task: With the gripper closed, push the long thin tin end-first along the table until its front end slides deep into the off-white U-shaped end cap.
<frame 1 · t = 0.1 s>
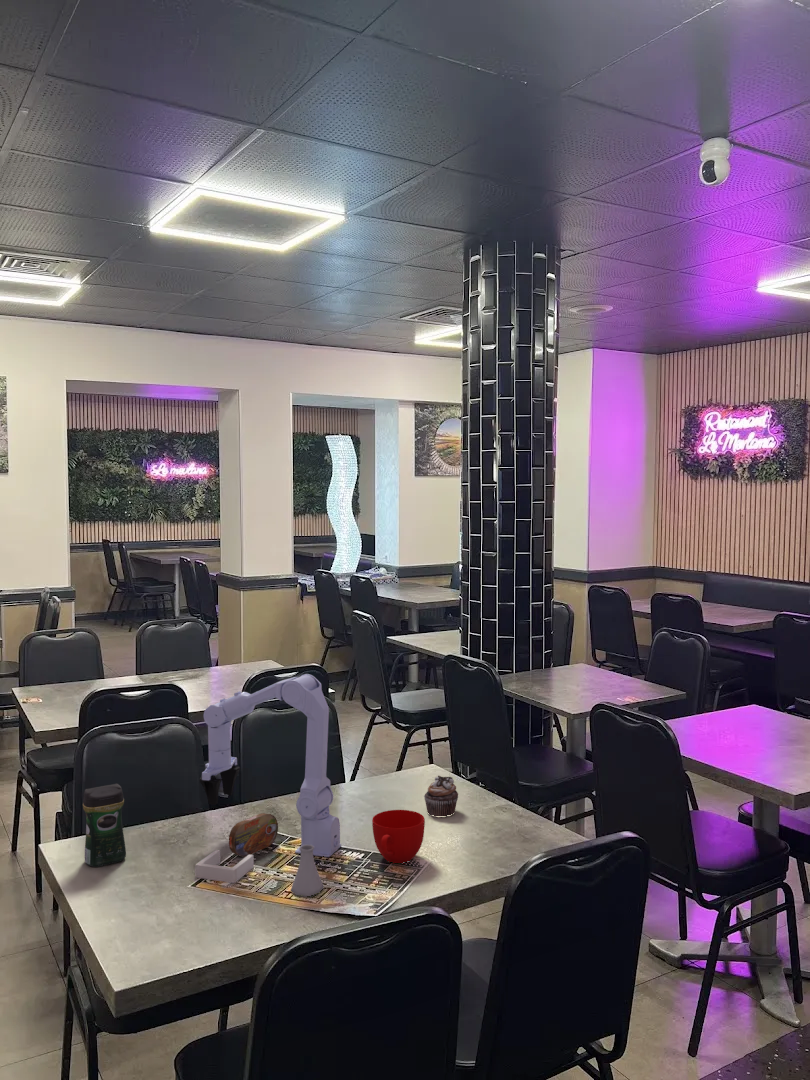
hand: (220, 799, 227), 10 cm above the table, tool pointing down, fingers open, 7 cm apart
cupcake: (441, 813, 244), on the table
coffee jar: (105, 861, 213), on the table
flask: (307, 891, 195), on the table
endcap: (226, 871, 206), on the table
ceramic cup: (396, 862, 211), on the table
tin: (253, 851, 219), on the table
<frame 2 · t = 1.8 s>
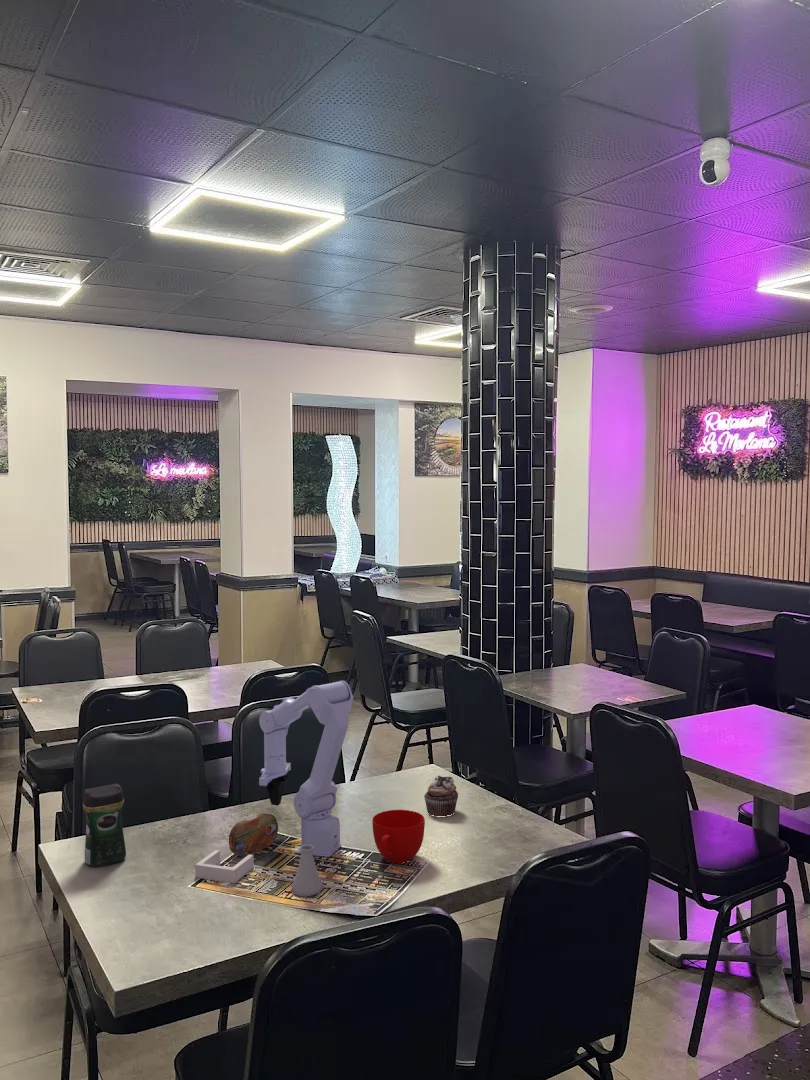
hand: (275, 804, 230), 8 cm above the table, tool pointing down, fingers closed
nothing on the table moved.
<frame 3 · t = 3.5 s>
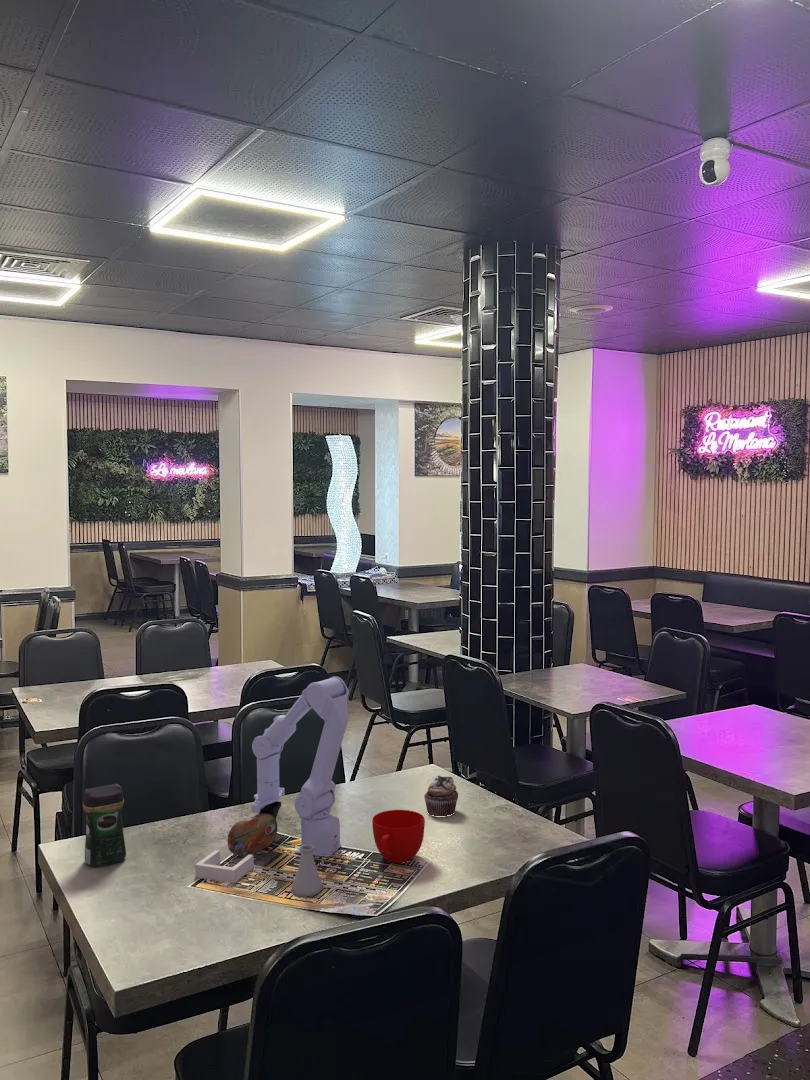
hand: (269, 830, 227), 2 cm above the table, tool pointing down, fingers closed
tin: (252, 851, 218), on the table, touching gripper
everything else where it was.
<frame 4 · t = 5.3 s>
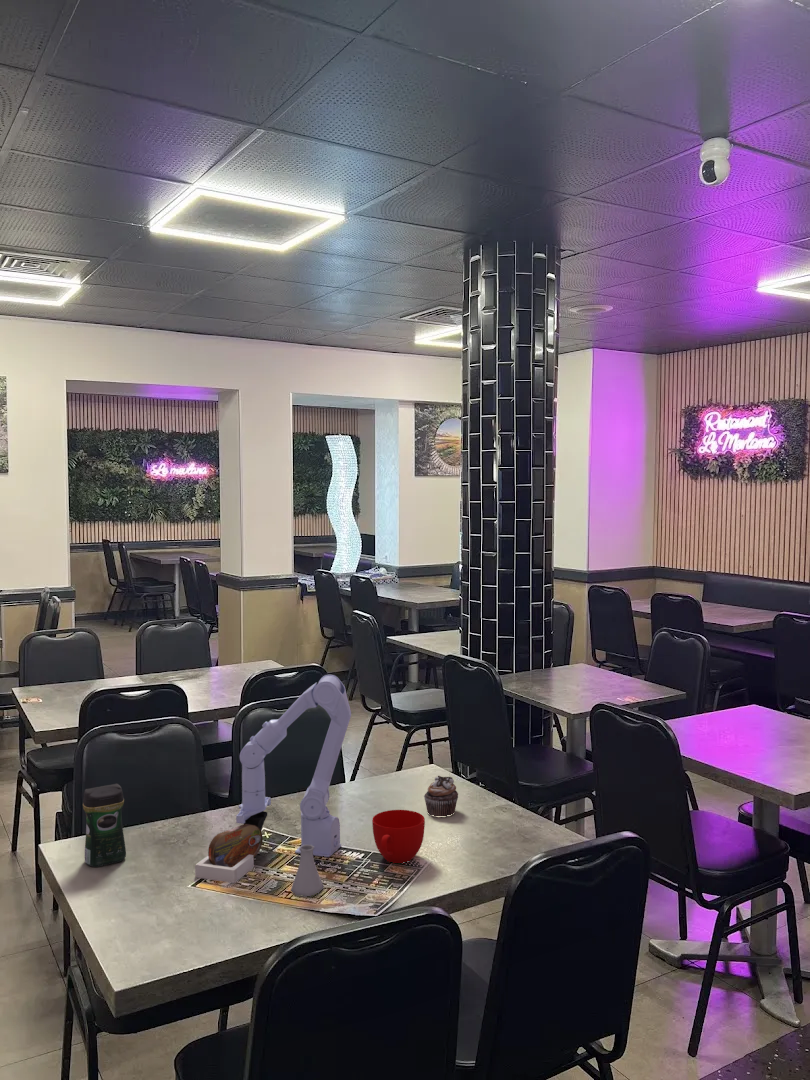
hand: (254, 841, 219), 2 cm above the table, tool pointing down, fingers closed
tin: (235, 863, 211), on the table, touching gripper
everything else where it was.
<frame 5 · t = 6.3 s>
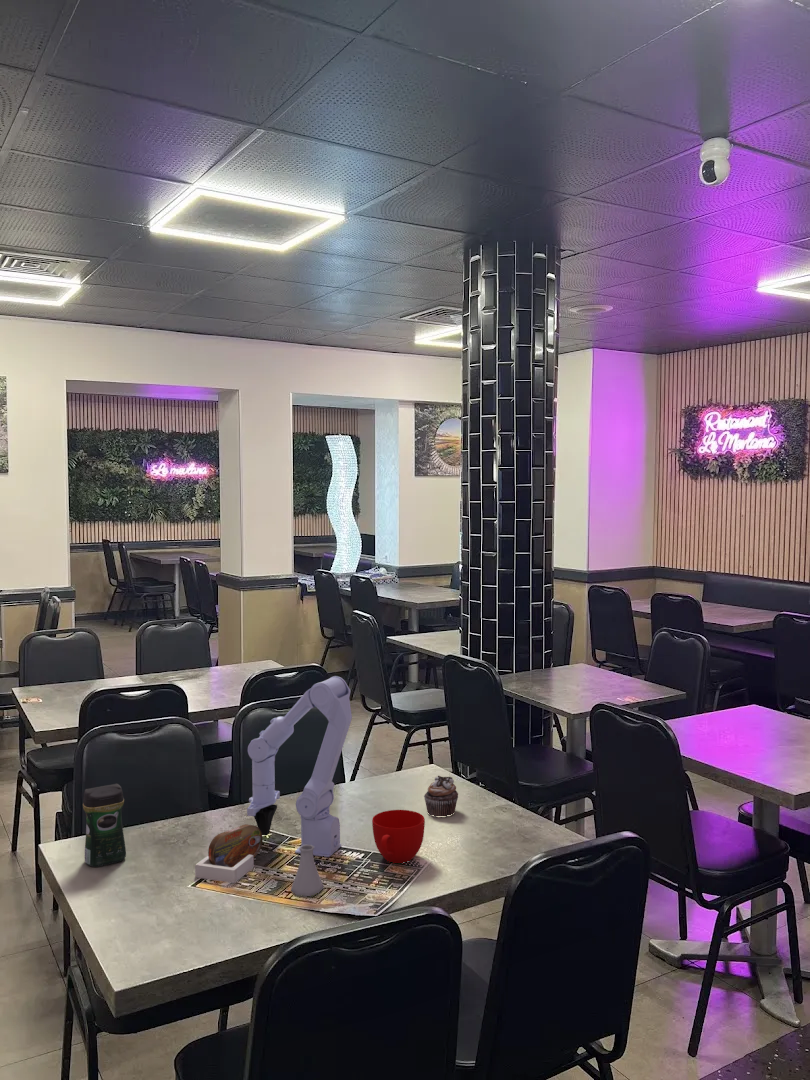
hand: (264, 834, 224), 2 cm above the table, tool pointing down, fingers closed
tin: (235, 863, 211), on the table
everything else where it was.
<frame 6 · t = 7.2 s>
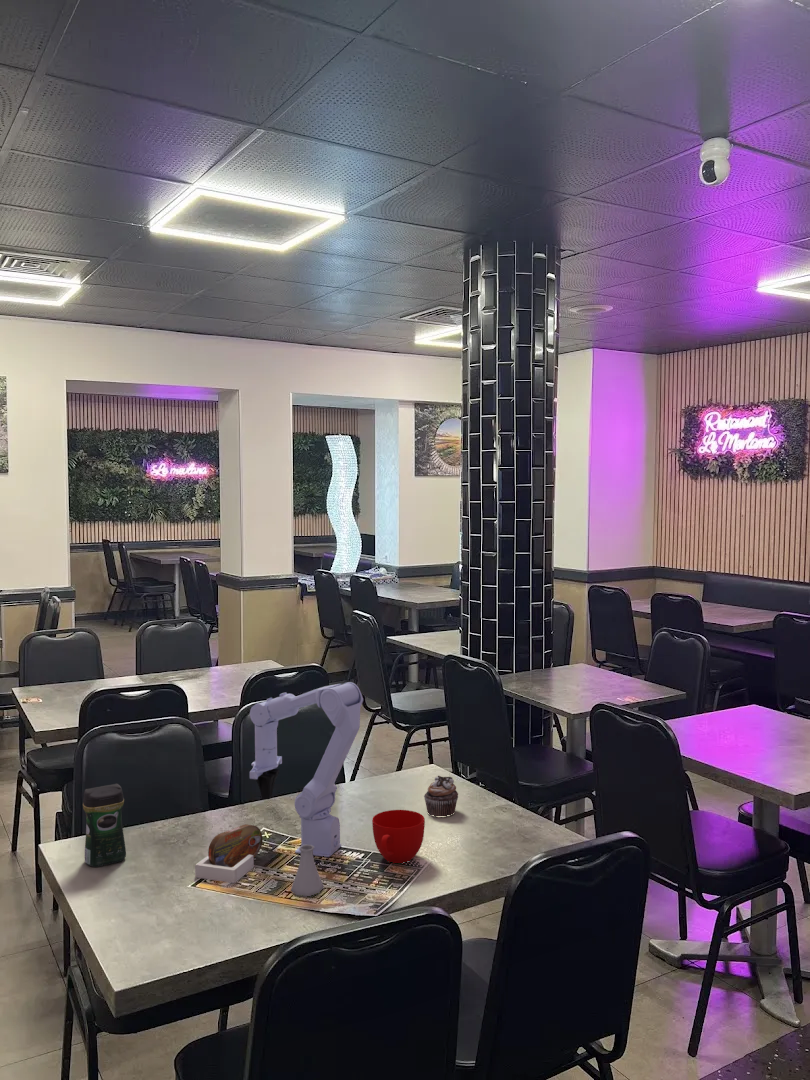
hand: (266, 798, 227), 10 cm above the table, tool pointing down, fingers closed
nothing on the table moved.
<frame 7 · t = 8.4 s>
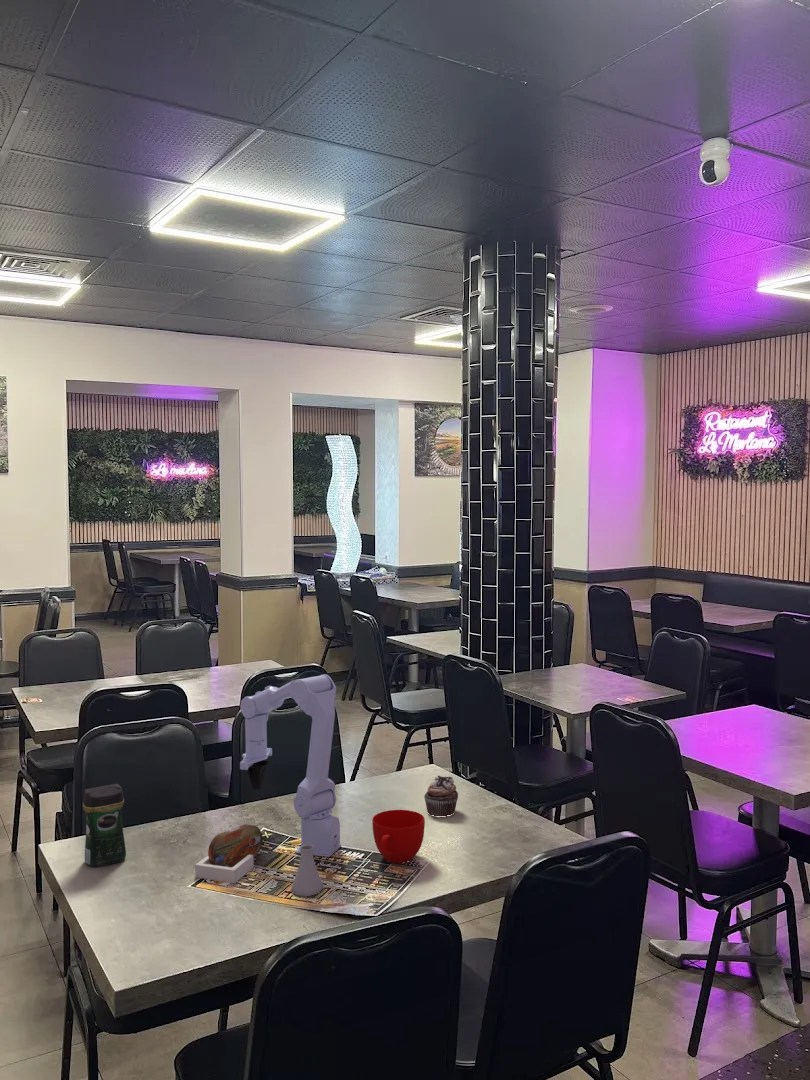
hand: (256, 788, 235), 10 cm above the table, tool pointing down, fingers closed
nothing on the table moved.
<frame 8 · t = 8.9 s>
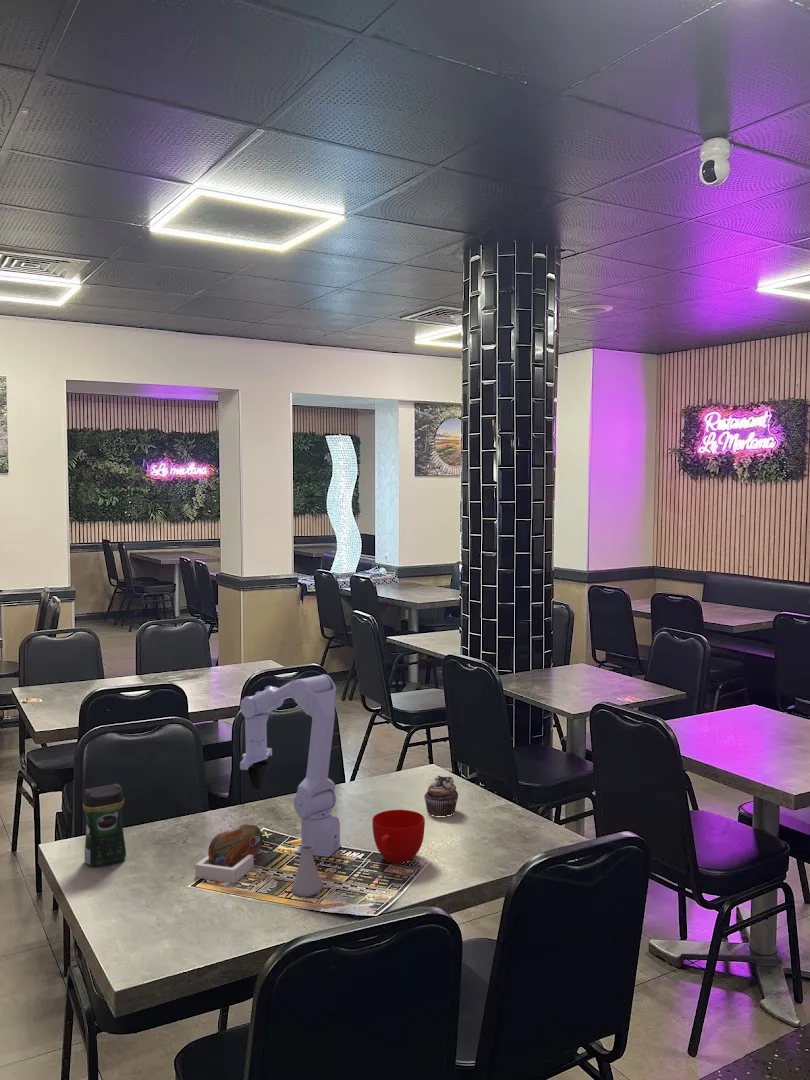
hand: (256, 788, 235), 10 cm above the table, tool pointing down, fingers closed
nothing on the table moved.
at the end: tin 0.7 cm from the target spot on the endcap, point 0.0 cm above the endcap's base; tin moved 8.3 cm from its start; tin tilted 0° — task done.
